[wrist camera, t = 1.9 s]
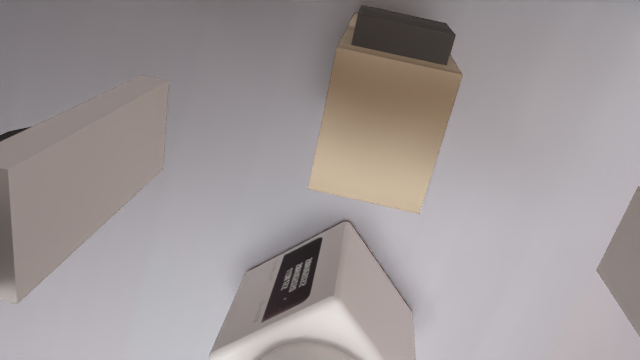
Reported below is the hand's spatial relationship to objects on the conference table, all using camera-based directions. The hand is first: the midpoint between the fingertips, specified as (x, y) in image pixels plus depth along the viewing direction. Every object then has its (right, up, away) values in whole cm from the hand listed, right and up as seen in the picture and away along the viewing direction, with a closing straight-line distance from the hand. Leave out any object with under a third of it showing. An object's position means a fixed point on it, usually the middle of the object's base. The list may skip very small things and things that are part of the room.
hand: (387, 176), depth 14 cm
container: (-1, -7, +18) cm, 19 cm away
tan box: (+1, +5, +12) cm, 13 cm away
